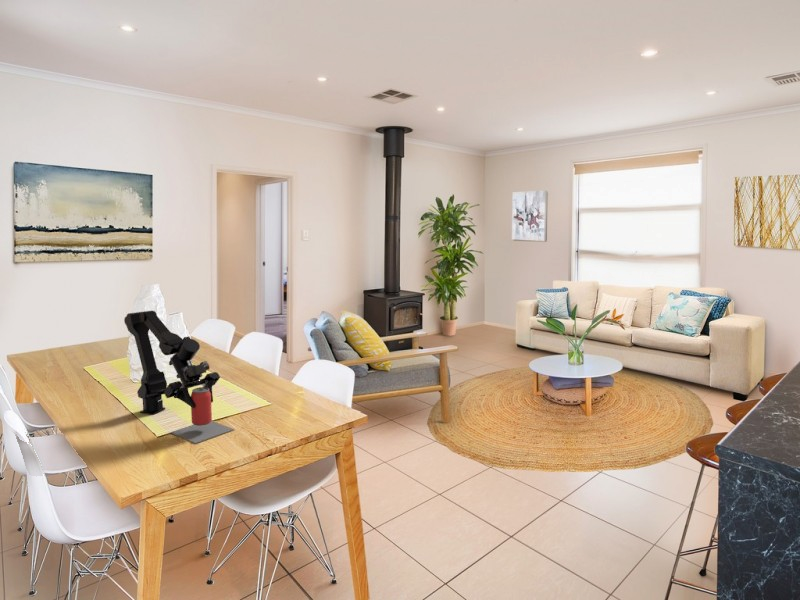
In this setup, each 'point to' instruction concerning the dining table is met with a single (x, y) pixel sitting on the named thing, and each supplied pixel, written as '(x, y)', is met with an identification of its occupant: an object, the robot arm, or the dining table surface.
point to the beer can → (201, 406)
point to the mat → (202, 432)
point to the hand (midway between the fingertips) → (203, 404)
